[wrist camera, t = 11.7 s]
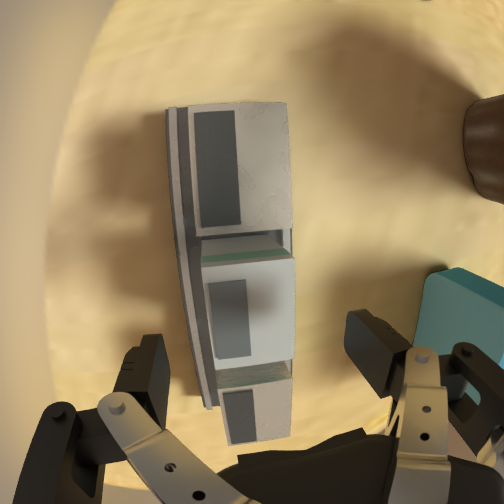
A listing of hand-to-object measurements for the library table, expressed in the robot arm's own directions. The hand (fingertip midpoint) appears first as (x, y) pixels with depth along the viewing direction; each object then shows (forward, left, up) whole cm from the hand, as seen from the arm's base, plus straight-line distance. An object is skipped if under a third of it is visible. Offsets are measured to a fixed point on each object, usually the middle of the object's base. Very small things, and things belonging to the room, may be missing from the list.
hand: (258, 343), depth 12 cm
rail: (0, 0, -10) cm, 10 cm away
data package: (+8, +21, -11) cm, 25 cm away
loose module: (0, 0, -9) cm, 9 cm away
